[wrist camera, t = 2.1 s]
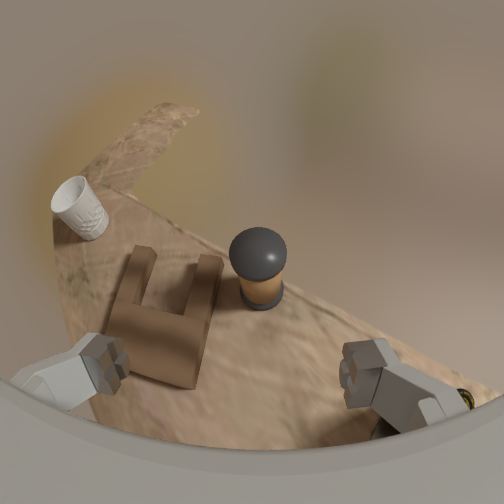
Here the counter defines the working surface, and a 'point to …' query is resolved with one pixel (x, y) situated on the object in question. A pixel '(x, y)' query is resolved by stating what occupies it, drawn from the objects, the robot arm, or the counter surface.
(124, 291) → the notched board
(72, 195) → the white cup
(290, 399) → the counter surface
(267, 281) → the tan grey capped cylinder
